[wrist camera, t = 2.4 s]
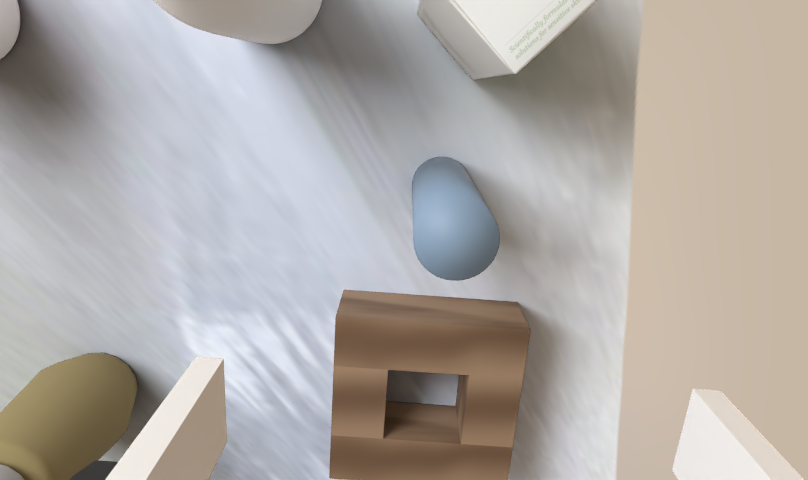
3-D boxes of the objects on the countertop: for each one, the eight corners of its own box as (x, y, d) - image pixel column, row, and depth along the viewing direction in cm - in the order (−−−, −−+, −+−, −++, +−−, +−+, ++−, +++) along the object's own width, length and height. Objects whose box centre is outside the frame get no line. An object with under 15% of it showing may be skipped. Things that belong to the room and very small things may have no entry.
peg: (467, 216, 42) (494, 283, 29) (409, 212, 42) (410, 277, 29) (473, 158, 41) (504, 201, 27) (414, 154, 41) (417, 194, 27)
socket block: (496, 448, 48) (505, 490, 43) (337, 437, 48) (329, 478, 43) (517, 302, 44) (530, 330, 39) (343, 289, 44) (335, 316, 39)
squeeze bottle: (151, 428, 48) (6, 628, 31) (58, 416, 48) (-141, 610, 30) (152, 346, 46) (-4, 512, 28) (54, 332, 45) (-164, 492, 28)
